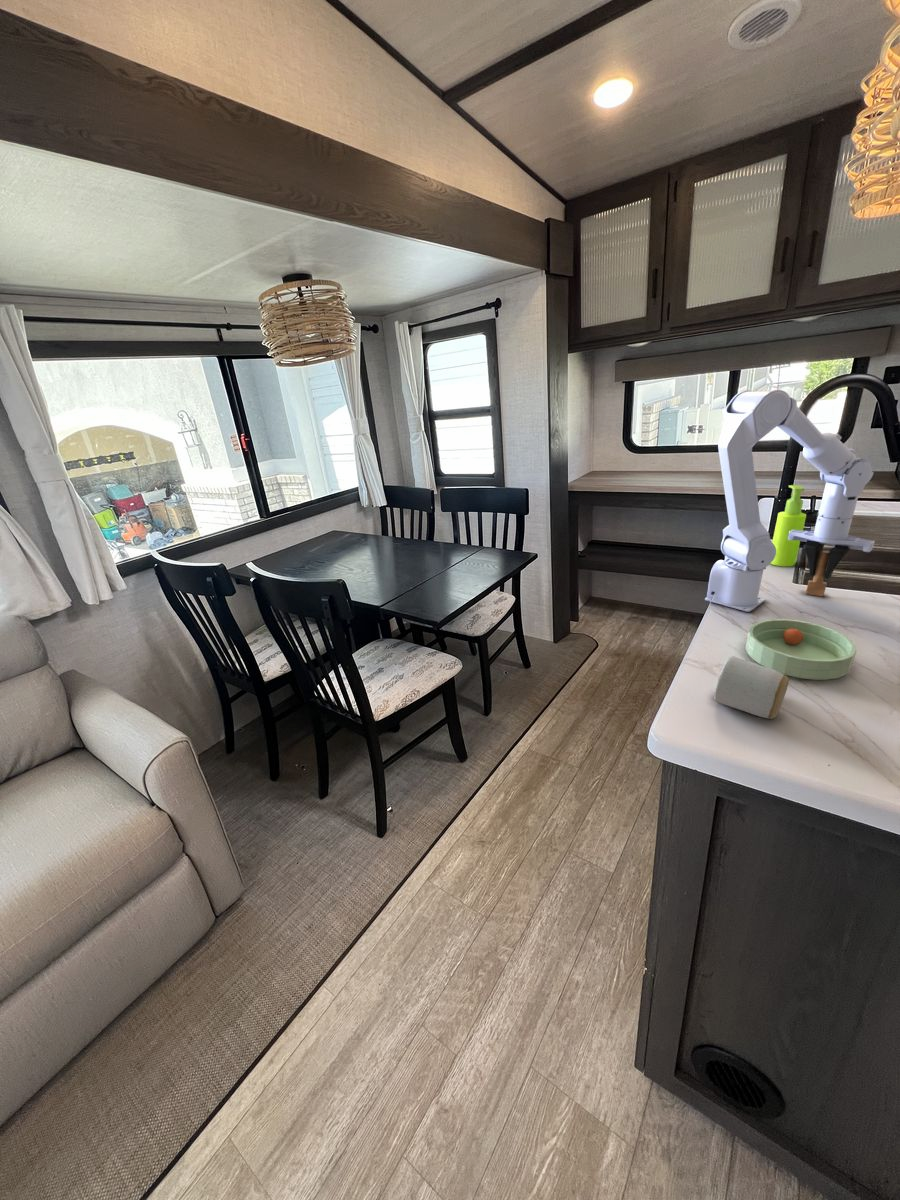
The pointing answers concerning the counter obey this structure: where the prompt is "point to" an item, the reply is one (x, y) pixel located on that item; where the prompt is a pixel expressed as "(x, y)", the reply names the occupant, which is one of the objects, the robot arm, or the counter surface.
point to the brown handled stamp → (819, 576)
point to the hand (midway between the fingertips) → (819, 575)
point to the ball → (793, 636)
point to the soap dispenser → (788, 529)
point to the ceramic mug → (751, 687)
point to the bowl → (801, 649)
